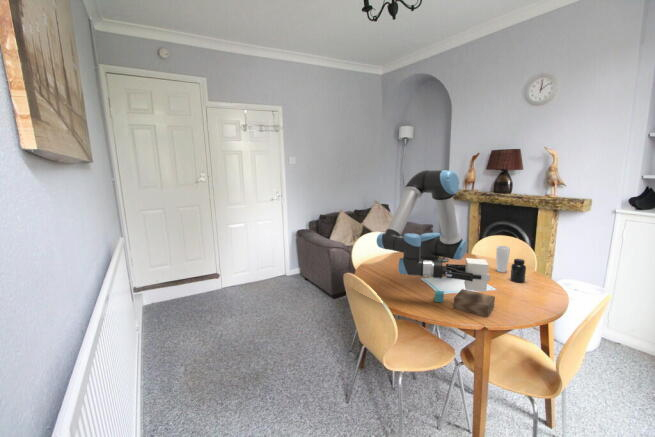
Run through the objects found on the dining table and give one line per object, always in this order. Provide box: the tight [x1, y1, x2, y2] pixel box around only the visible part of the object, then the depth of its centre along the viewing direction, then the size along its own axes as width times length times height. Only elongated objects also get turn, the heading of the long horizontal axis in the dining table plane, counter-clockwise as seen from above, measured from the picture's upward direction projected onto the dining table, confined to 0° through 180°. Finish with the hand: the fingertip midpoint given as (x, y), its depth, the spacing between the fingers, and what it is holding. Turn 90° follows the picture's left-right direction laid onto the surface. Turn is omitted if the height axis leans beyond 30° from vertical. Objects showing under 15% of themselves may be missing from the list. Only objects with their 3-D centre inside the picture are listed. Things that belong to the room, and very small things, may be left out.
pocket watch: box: [439, 256, 450, 263], centre depth 205 cm, size 8×8×10 cm
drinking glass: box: [495, 245, 511, 273], centre depth 183 cm, size 7×7×15 cm
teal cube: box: [434, 289, 445, 303], centre depth 146 cm, size 4×4×4 cm
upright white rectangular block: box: [464, 257, 489, 293], centre depth 136 cm, size 8×8×12 cm
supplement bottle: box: [510, 258, 527, 283], centre depth 168 cm, size 7×7×12 cm
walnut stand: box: [453, 288, 496, 318], centre depth 138 cm, size 14×12×5 cm
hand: (488, 274), depth 134 cm, fingers closed on upright white rectangular block, 8 cm apart
